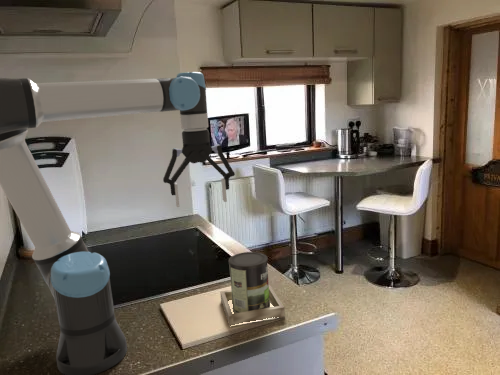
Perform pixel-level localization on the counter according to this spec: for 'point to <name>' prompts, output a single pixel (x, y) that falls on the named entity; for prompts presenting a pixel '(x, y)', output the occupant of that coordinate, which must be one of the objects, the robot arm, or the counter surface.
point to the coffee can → (249, 281)
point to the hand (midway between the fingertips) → (201, 203)
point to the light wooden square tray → (254, 314)
